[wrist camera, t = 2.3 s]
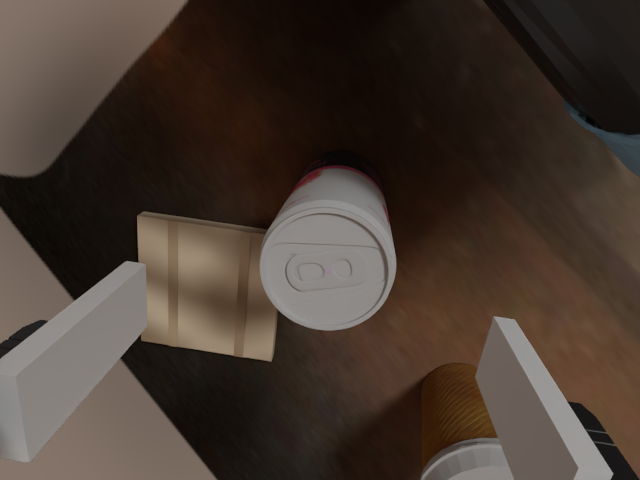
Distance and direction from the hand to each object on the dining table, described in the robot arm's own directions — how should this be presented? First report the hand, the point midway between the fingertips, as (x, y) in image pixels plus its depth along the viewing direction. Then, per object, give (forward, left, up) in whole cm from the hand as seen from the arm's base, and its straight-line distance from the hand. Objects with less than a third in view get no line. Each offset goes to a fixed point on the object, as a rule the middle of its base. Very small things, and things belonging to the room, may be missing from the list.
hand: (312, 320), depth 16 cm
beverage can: (0, 0, -19) cm, 19 cm away
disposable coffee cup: (+17, +13, -19) cm, 29 cm away
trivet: (+10, -10, -19) cm, 23 cm away
